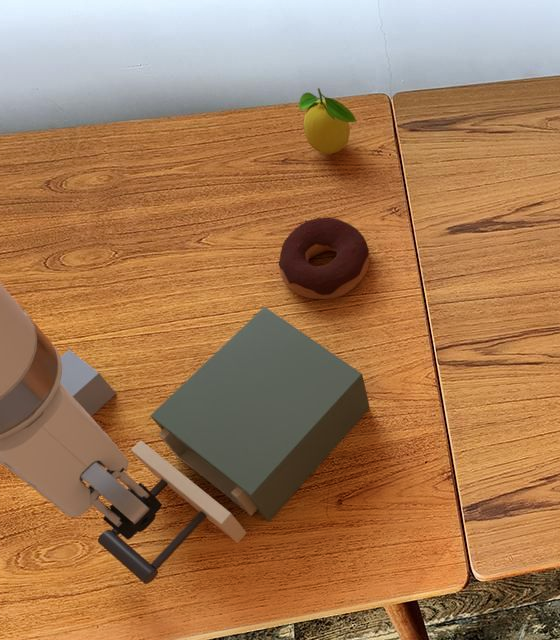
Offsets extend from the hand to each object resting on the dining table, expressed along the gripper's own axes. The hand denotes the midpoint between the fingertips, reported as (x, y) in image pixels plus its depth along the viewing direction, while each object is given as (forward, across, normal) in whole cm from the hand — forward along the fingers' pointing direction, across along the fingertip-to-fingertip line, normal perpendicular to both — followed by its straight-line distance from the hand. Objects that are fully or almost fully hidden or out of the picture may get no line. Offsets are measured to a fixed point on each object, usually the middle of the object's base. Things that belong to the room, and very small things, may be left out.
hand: (98, 482), depth 56 cm
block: (+16, -18, +5) cm, 25 cm away
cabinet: (+16, 0, +14) cm, 21 cm away
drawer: (+15, 0, +7) cm, 17 cm away
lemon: (+16, -21, +46) cm, 53 cm away
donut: (+16, -9, +32) cm, 37 cm away
